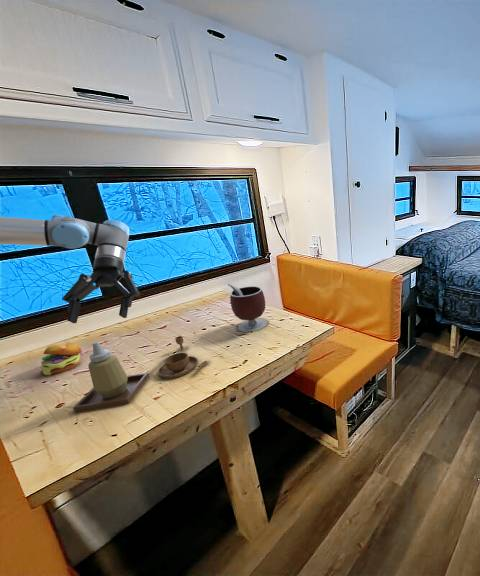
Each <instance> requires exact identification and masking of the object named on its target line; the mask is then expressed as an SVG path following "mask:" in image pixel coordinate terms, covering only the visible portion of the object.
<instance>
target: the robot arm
mask: <svg viewBox="0 0 480 576" xmlns="http://www.w3.org/2000/svg"><path fill="white" fill-rule="evenodd" d="M129 238H130V227H129V226H128V225H127V224H126V223H124V222H122V221H120V220H116V219H114V220H112V219H107V220H105V221H103V223H96V222H92V221H88V220H84V219H81V218H75V217H71V216H69V215H62V214H58V213H57V214H53V215H52V216H51V218H50V219H49V220H48V219H37V218H25V217H12V216H11V217H10V216H9V217H7V216H0V245H15V246H18V245H19V246H20V245H21V246H47V247H48V246H49V247H61V248H65V249H71V250H73V249H79V248H81V247H83V246H85V245H88V244H89V245H92V246H97V247H96V251H95V255H94V261H93V265H92V272H91V274H85V273H81V274H79V277H78V279H77V280H76V282H75V283H74V284H73V285H72V286H71V287H70V288H69V290H67V292H66V293H65V294H63V295H64V296H63V297H61V300H62V301H64V302H66V303H68V305H67V309H66V311H67V313H68V316H67V319H66V321H67V322H69V323H72V324H77V323H78V319H79V315H80V311H81V306H82V303H80V302H81V301H83V300H84V299H85V298H87V296H89V295H90V294H91V293H93V292H94V291H95V290H98V289H100V288H106V287H109V288H110V287H113V286H115V287H116V288H117V289H118V290H119V291H120V292H121V293H122V295H123V296H121V300H120V307H119V312H118V316H119V317H121V318H123V319H127V318H128V311H129V308H131V307H132V305H133V299H134V298H136V297H137V298H139V297H140V296H141V293H140V291H139V289H138V287H137V285H136V284H135V282H134V280H133V273H132V272H130V271H129V270H127V269H126V270H124V264H125V259H126V253H127V250H128V249H127V248H128V244H129V240H130V239H129ZM123 270H124V271H123ZM122 278H123V279H124V280H125V282H126V284H127V287H128V288H129V290H130V291H128V289H127V288H126V287H124V286H123V284H122V283H121V282H120V280H121V279H122Z"/></svg>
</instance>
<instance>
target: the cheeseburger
mask: <svg viewBox="0 0 480 576" xmlns="http://www.w3.org/2000/svg"><path fill="white" fill-rule="evenodd" d="M81 353H82V348H81V346H80V345H79V344H77V343H67V344H66V345H61V344H53V345H49V346H47V347H46V348H45V349H44V351H43V355H45V356H43V357H42V358H41V362H40V364H41V366H40V369H41V370H42V373H43V375H45V376H52V375H54V374H58V373H59V374H60V373H62V372H64V371H68V370H71V369H73V368H75V367H77V366H78V365H79V364H80V357H81Z"/></svg>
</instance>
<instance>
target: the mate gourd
mask: <svg viewBox="0 0 480 576" xmlns="http://www.w3.org/2000/svg"><path fill="white" fill-rule="evenodd" d="M227 286H229V287H230V288H231V289H232V290H231V291H230V292H229V303H230V306H231V307H230V308H231V310H232V313H233V315H234V316H235V317H236V318H238V319H239V320H241V321H243V322H241V323H240V324H239V325H238V327H237V329H238V331H240V332H243V333H252V332H256V331H259V330H261V329H263V328H265V327H266V326H267V325H268V321H267V320H266V319H264V318H263V319H262V318H260V317H262V315H263V314H264V312H265V311H266V298H265V294H264V291H263V288H262V287H260V286H257V285H256V286H255V285H249V286H242V287H237V286H236V285H233V284H231V283H227Z"/></svg>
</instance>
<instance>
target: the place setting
mask: <svg viewBox="0 0 480 576" xmlns="http://www.w3.org/2000/svg"><path fill="white" fill-rule="evenodd" d="M174 340H175V343H176V344H177V345H179V349H180V350H179V351H180V352H178V353H174V354H171V355H169V356H167V357H166V358H165V359H164V360H163V361H162V362H164V364H162V365H161V366H160V367H159V368H158V369H157V373H158V375H159V376H160V377H162V378H164V379H175V378H179V377H182V376H185V375H187V374H189V373H191V372H192V371H193V370H195V369H196V368H197V366H198V364H199V359H198V357H196V356H192V355H189V354H188V353H187V352H183V351H185V348H184V346H183V344H184V341H185V340H184V337H183V336H182V335H178V336H175V338H174ZM207 363H208V361H207V360H204V361H203V362H201V363H200V365H199V368H198V369H197V370H196V371H195V372H194V373H193V375H192V376H193V377H194V376H196V375H197V374H198V372H199V371H200V370H201V368H203V367H205V366H206V365H207Z"/></svg>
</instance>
